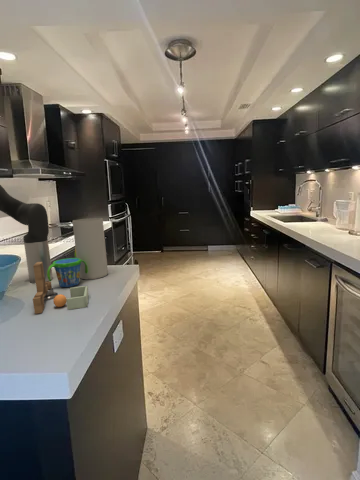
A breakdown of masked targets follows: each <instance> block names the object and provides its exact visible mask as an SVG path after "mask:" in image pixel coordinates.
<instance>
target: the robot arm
mask: <svg viewBox="0 0 360 480" xmlns="http://www.w3.org/2000/svg"><path fill="white" fill-rule="evenodd" d="M0 212H2V213H4V214H5V215H7V216H9V217H10V218H12V219H13V220H15V221H17V222H19V224H22V225H23V226H27V229H28V230H27V233H26V234H24V235H23V244H24V253H25V257H26V259H25V260H26V266H27V272H28V280H29V283H31V284H36V281H35V274H34V267H33V266H34V265H35V264H36V263H37V262H43V269H44V276H45V282H50V281H49V279H48V277H47V271H48V268H49V266H50V265H52V261H51V254H50V253H51V252H50V246H49V240H48V239H49V238H48V237H49V236H48V235H49V232H50V231H49V216H48V212H47V209H46V207H45V206H44V205H43V204H41V203H32V202H31V203H26V202H23V201H21V200H19V199H17V198H16V197H13V196H12V195H10V194H9V193H8V192H7V190H5V188H4V187H3V186H2V185H1V184H0ZM50 279H51V281H52V280H53V279H54V277H53V267H52V268H51V269H50Z"/></svg>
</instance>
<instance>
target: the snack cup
mask: <svg viewBox="0 0 360 480" xmlns="http://www.w3.org/2000/svg"><path fill="white" fill-rule="evenodd" d="M81 262H83V263H84V264H85V273H88V266H87V264H86V262H85V261H83V260H81V259H79V258H75V257H70V258H69V257H67V258H62V259H57V260H54V261H53V262H52V263H51V265H50V266H49V268H48V271H47V277H48V279H49V281H48V282H51V281H52V280H51V279H50V269H51V268H52V269H53V268H54V270H55V275H56V278H57V282H58V284H59V287H60V288H73V287H75V286H78V285H79V284H80V279H81V278H80V265H81Z"/></svg>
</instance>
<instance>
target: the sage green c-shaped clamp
mask: <svg viewBox="0 0 360 480" xmlns="http://www.w3.org/2000/svg"><path fill="white" fill-rule="evenodd" d="M69 292H70V297H68V298H67V297H66V301H67V302H66V309H67V311H69V310H76V309H84V308H87V307H88V304H89V303H88V302H89V296H90V295H89V286H88V285H82V286H72V287H69Z"/></svg>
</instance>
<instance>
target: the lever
mask: <svg viewBox="0 0 360 480" xmlns="http://www.w3.org/2000/svg"><path fill="white" fill-rule="evenodd" d="M33 267H34V274H35V281H36V283H35V288H36V292H35V295H34V297H33V298H32V302H33V303H32V304H33V310H34V311H33V312H34V315H36V314H37V315H38V314H42V313H43V311H44V310H45V307H46V306H45V300H44V296H45V294H46V293H47V291H48V289H51V288H53V286H52V282H51V281H46V282H45V276H44V269H43V262H37V263H36V264H35V265H34V266H33Z"/></svg>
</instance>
